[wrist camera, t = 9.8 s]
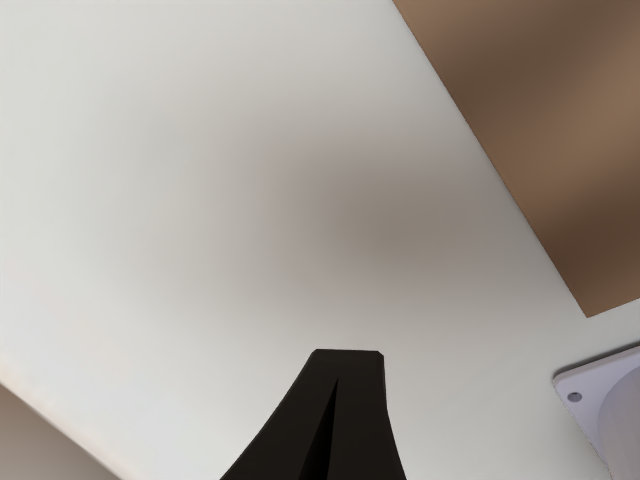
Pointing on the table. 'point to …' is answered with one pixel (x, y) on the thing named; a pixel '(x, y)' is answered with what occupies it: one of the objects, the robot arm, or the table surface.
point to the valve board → (553, 122)
